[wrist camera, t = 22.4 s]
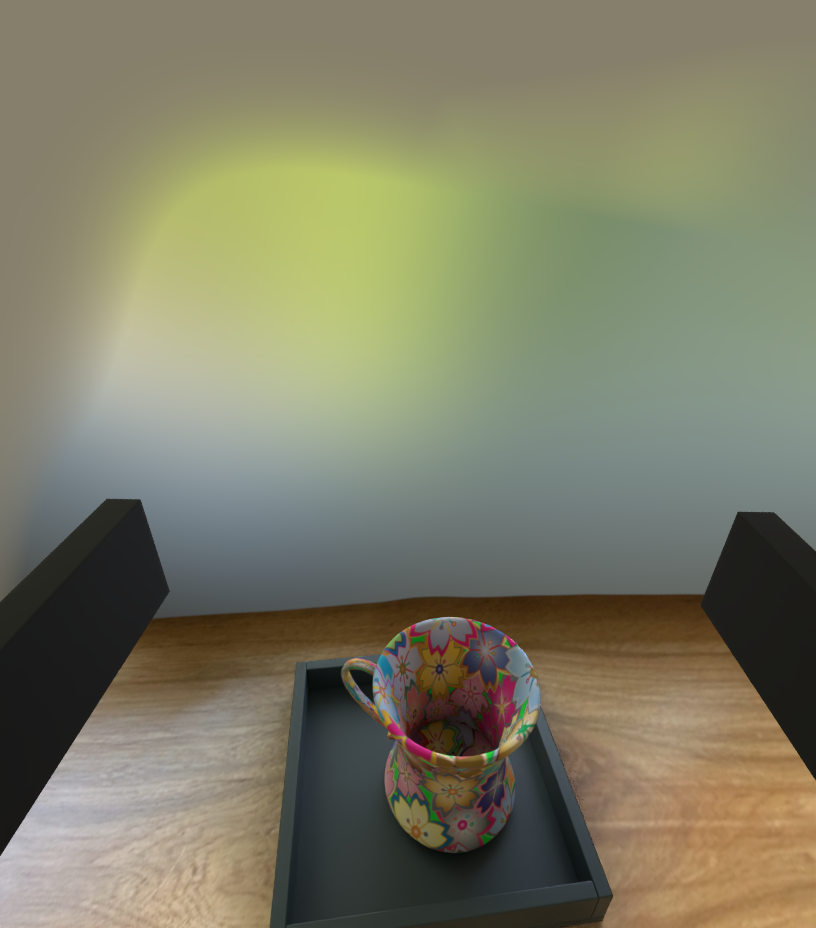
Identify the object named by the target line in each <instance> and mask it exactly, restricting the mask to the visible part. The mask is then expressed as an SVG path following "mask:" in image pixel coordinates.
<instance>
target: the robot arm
mask: <svg viewBox="0 0 816 928" xmlns="http://www.w3.org/2000/svg"><path fill="white" fill-rule="evenodd" d="M169 592H170V591H169V588H168V585H167V582H166V578H165V575H164V572H163V569H162V566H161V563H160V559H159V557H158V553H157V550H156V547H155V544H154V540H153V537H152V534H151V531H150V528H149V525H148V522H147V518H146V515H145V512H144V509H143V506H142V503H141V500H137V499H134V500H133V499H106V500H105V501H104V502H103V503H102V504H101V505H100V506H99V507H98V508H97V509H96V510H95V511H94V512H93V513H92V514H91V515H90V516H89V517H88V518H87V519H86V520H85V521H84V522H83V523H82V524H80V525H79V527H77V528H76V529H75V530H74V531H73V532H72V533H71V534H70V535H69V536H68V537H67V538H66V539H65V540H64V541H63V542H62V543H61V544H60V545H59V546H58V547H57V548H56V549H55V550H54V551H53V552H51V554H50V555H48V556H47V557H46V558H45V559H44V560H43V561H42V562H41V563H40V564H39V565H38V566H37V567H36V568H35V569H34V570H33V571H32V572H31V573H30V574H29V575H28V576H27V577H26V578H25V579H24V580H23V581H21V582H20V583H19V584H18V585H17V586H16V587H15V588H14V589H13V590H12V591H11V592H10V593H9V594H8V595H7V596H6V597H5V598H4V599H3V600H2V601H1V602H0V856H1V854H2V853H3V851H4V849H5V848H6V846H7V845H8V843H9V842H10V840H11V838H12V837H13V835H14V834H15V832H16V831H17V829H18V828H19V826H20V824H21V823H22V821H23V820H24V818H25V817H26V815H27V813H28V812H29V810H30V809H31V807H32V806H33V804H34V803H35V801H36V799H37V798H38V796H39V795H40V793H41V792H42V790H43V788H44V787H45V785H46V784H47V782H48V781H49V779H50V778H51V776H52V774H53V773H54V771H55V770H56V768H57V767H58V765H59V763H60V762H61V760H62V759H63V757H64V756H65V754H66V753H67V751H68V749H69V748H70V746H71V745H72V743H73V742H74V740H75V738H76V737H77V735H78V734H79V732H80V731H81V729H82V727H83V726H84V724H85V723H86V721H87V720H88V718H89V717H90V715H91V713H92V712H93V710H94V709H95V707H96V706H97V704H98V702H99V701H100V699H101V698H102V696H103V695H104V693H105V692H106V690H107V688H108V687H109V685H110V684H111V682H112V681H113V679H114V677H115V676H116V674H117V673H118V671H119V670H120V668H121V667H122V665H123V663H124V662H125V660H126V659H127V657H128V656H129V654H130V652H131V651H132V649H133V648H134V646H135V645H136V643H137V642H138V640H139V638H140V637H141V635H142V634H143V632H144V631H145V629H146V627H147V626H148V624H149V623H150V621H151V620H152V618H153V617H154V615H155V613H156V612H157V610H158V609H159V607H160V605H161V604H162V602H163V601H164V599H165V598H166V596H167V595H168V593H169ZM701 607H702V608H703V610H704V611H705V613H706V614H707V616H708V617H709V619H710V620H711V622H712V623H713V625H714V626H715V628H716V630H717V631H718V633H719V634H720V636H721V637H722V639H723V640H724V642H725V643H726V645H727V646H728V648H729V649H730V651H731V652H732V654H733V655H734V657H735V658H736V660H737V661H738V663H739V664H740V666H741V668H742V669H743V671H744V672H745V674H746V675H747V677H748V678H749V680H750V681H751V683H752V684H753V686H754V687H755V689H756V690H757V692H758V693H759V695H760V696H761V698H762V699H763V701H764V702H765V704H766V705H767V707H768V709H769V710H770V712H771V713H772V715H773V716H774V718H775V719H776V721H777V722H778V724H779V725H780V727H781V728H782V730H783V731H784V733H785V734H786V736H787V737H788V739H789V740H790V742H791V743H792V745H793V747H794V748H795V750H796V751H797V753H798V754H799V756H800V757H801V759H802V760H803V762H804V763H805V765H806V766H807V768H808V769H809V771H810V772H811V774H812V775H813V777H814V778H815V780H816V551H815V550H814V549H813V548H812V547H810V546H809V545H808V544H807V543H806V542H805V541H804V540H803V539H802V538H801V537H800V536H799V535H798V534H797V533H795V532H794V531H793V530H792V529H791V528H790V527H789V526H788V525H787V524H786V523H785V522H784V521H782V519H780V518H779V517H778V516H777V515H776V514H775V513H774V512H773V513H772V512H738V513H737V515H736V518H735V520H734V523H733V525H732V528H731V530H730V533H729V535H728V538H727V540H726V543H725V545H724V547H723V550H722V552H721V555H720V557H719V560H718V562H717V565H716V567H715V570H714V572H713V575H712V577H711V580H710V583H709V585H708V587H707V590H706V592H705V595H704V597H703V600H702V602H701Z"/></svg>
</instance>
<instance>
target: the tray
mask: <svg viewBox="0 0 816 928" xmlns="http://www.w3.org/2000/svg"><path fill="white" fill-rule="evenodd" d="M515 643H516V642H515ZM516 644H517V643H516ZM379 657H380V655H371V656H360V657H350V658H339V659H329V660H318V661H308V662H297V663H296V673H295V682H294V692H293V702H292V712H291V722H290V732H289V742H288V752H287V761H286V771H285V781H284V791H283V801H282V811H281V821H280V830H279V840H278V850H277V860H276V870H275V880H274V890H273V899H272V909H271V919H270V928H560V927H567V926H573V925H580V924H586V923H593V922H599V921H602V920H603V918H604V915H605V913H606V911H607V908H608V906H609V904H610V902H611V900H612V897H613V894H612V892H611V889H610V886H609V884H608V881H607V878H606V876H605V873H604V871H603V868H602V865H601V863H600V860H599V857H598V855H597V852H596V850H595V847H594V844H593V842H592V839H591V837H590V834H589V831H588V829H587V826H586V823H585V821H584V818H583V816H582V813H581V810H580V808H579V805H578V802H577V800H576V797H575V795H574V792H573V789H572V787H571V784H570V782H569V779H568V776H567V774H566V771H565V768H564V766H563V763H562V761H561V758H560V755H559V753H558V750H557V747H556V745H555V742H554V740H553V737H552V734H551V732H550V729H549V727H548V724H547V721H546V719H545V716H544V713H543V711H542V708H541V706H540V710H539V715H538V718H537V721H536V724H535V726H534V728H533V730H532V732H531V733H530V735H529V736H528V738H527V739H526V740H525V741H524V742H523V743H522V745H521V746H519V747H518V748H517V749H516V750H515V751H514V752H512V753H511V754H509V755H508V757H509V760H510V762H511V765H512V769H513V773H514V778H515V799H514V805H513V809H512V811H511V814H510V817H509V819H508V821H507V822H506V824H505V826H504V827H503V828H502V830H501V831H500V832H499V833H498V834H497V835H496V836H495V837H494V838H493V839H492V840H491V841H490V842H488V843H487V844H485V845H483V846H481V847H479V848H477V849H474V850H471V851H468V852H462V853H447V852H441V851H437V850H434V849H431V848H429V847H427V846H425V845H423V844H421V843H419V842H418V841H416V840H415V839H414V838H413V837H411V836H410V835H409V834H408V833H407V832H406V831H405V830H404V829H403V828H402V826H401V825H400V824H399V822H398V821H397V819H396V818H395V816H394V814H393V812H392V810H391V808H390V805H389V802H388V799H387V795H386V791H385V768H386V763H387V759H388V756H389V753H390V751H391V749H392V747H393V745H394V743H395V742H396V739H393V740H389V739H388V738H387V735H388V732H389V731H388V730H387V729H386V728H385V727H384V726H382V725H381V724H380V723H378V722H377V721H376V720H375V719H373V718H372V717H371V716H370V715H369V714H368V713H366V712H365V711H364V710H363V709H362V708H361V707H360V706H359V704H358V703H357V702H356V701H355V700H354V699H353V697H352V696H351V695H350V693H349V692H348V690H347V689H346V687H345V685H344V683H343V681H342V677H341V671H342V668H343V666H344V664H345V663H346V662H347V661H348V660H350V659H354V658H361V659H365V660H368V661H371V662H373V663H375V664H377V662H378V659H379ZM350 674H351V676H352V678H353V680H354V682H355V683H356V685H357V686H358V687H359V689H360V690H361V691H362V692H363V694H364V695H365V696H366V697H367V698H368V699H369V700H370V701H371V702H372V703H373V704H374V705H375V702H374V696H373V676H372V675H370V674H369V673H367V672H365V671H362V670H358V669H350Z"/></svg>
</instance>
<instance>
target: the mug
mask: <svg viewBox="0 0 816 928" xmlns="http://www.w3.org/2000/svg"><path fill="white" fill-rule="evenodd" d="M350 669H358V670H362V671H365V672H367V673H369V674H370V675H372V676H373V696H374V702H375V705H374V704H373V703H372V702H371V701H370V700H369V699H368V698H367V697H366V696H365V695H364V694H363V692H362V691H361V690H360V689H359V687H358V686H357V685H356V683H355V682H354V680H353V678H352V676H351V674H350ZM341 677H342V681H343V683H344V685H345V687H346V689H347V690H348V692H349V693H350V695H351V696H352V697H353V699H354V700H355V701H356V702H357V703H358V704H359V706H360V707H361V708H362V709H363V710H364V711H365V712H366V713H368V714H369V715H370V716H371V717H372V718H373V719H375V720H376V721H377V722H378V723H380V724H381V725H382V726H384V727H385V728H386V729H387V730H388V731H389V732H388V735H387V738H388V739H389V740H393V739H396V742H395V743H394V745H393V747H392V749H391V751H390V753H389V756H388V759H387V763H386V768H385V791H386V795H387V799H388V802H389V805H390V808H391V810H392V812H393V814H394V816H395V818H396V819H397V821H398V822H399V824H400V825H401V826H402V828H403V829H404V830H405V831H406V832H407V833H408V834H409V835H410V836H411V837H413V838H414V839H415V840H416V841H418V842H419V843H421V844H423V845H425V846H427V847H429V848H431V849H434V850H437V851H441V852H447V853H462V852H468V851H471V850H474V849H477V848H479V847H481V846H483V845H485V844H487V843H488V842H490V841H491V840H492V839H493V838H494V837H495V836H496V835H497V834H498V833H499V832H500V831H501V830H502V828H503V827H504V826H505V824H506V822H507V821H508V819H509V817H510V814H511V811H512V809H513V805H514V799H515V778H514V773H513V769H512V765H511V762H510V760H509V757H508V755H509V754H511V753H512V752H514V751H515V750H516V749H517V748H518V747H519V746H521V745H522V743H523V742H524V741H525V740H526V739H527V738H528V736H529V735H530V733H531V732H532V730H533V728H534V726H535V724H536V721H537V718H538V715H539V710H540V703H541V693H540V685H539V681H538V678H537V675H536V672H535V670H534V667H533V665H532V663H531V662H530V660H529V658H528V657H527V656H526V654H525V653H524V652H523V650H522V649H521V648H520V647H519V646H518V645H517V644H516V643H515V642H514V641H513V640H512V639H510V638H509V637H508V636H506V635H505V634H504V633H502V632H500V631H499V630H497V629H495V628H493V627H491V626H489V625H486V624H484V623H481V622H478V621H474V620H470V619H465V618H456V617H444V618H435V619H430V620H426V621H423V622H420V623H417V624H415V625H413V626H410V627H408V628H407V629H405V630H403V631H402V632H401V633H399V634H398V635H397V636H396V637H394V638H393V639H392V640H391V641H390V643H389V644H388V645H387V646H386V647H385V649H384V650H383V652H382V654H381V655H380V657H379V659H378V662H377V664H375V663H373V662H371V661H368V660H365V659H361V658H354V659H350V660H348V661H347V662H346V663H345V664H344V666H343V668H342V671H341Z"/></svg>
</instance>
